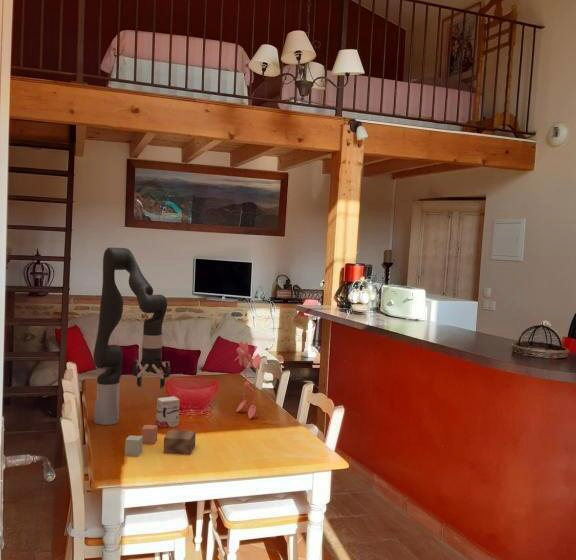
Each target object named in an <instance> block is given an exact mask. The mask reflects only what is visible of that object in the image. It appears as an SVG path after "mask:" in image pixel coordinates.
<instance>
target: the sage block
mask: <svg viewBox="0 0 576 560" xmlns="http://www.w3.org/2000/svg"><path fill="white" fill-rule="evenodd" d="M143 445H144V444H143V436H141V435H131V434H130V435H128V437H126V439H125V445H124V457H125V456H126V457H140V455H141V454H142V453H143Z"/></svg>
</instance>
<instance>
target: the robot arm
mask: <svg viewBox="0 0 576 560" xmlns="http://www.w3.org/2000/svg"><path fill="white" fill-rule="evenodd" d="M124 270H125V271H126V272H128V273H129V277H128V286H129V288H130V290H131V291H132V293H133V294H134V295H135V297H136V300H137V303H138V306H139V309H140V311H142V312H143V313H144V314H153V315H152V316H151V317H150V318H146V319H145V320H144V321H143V327H142V329H143V332H142V334H143V335H142V341H141V342H142V343H141V344H142V345H141V360H139V359H135V360H133V363H132V374H131V375H132V376H133V377H134V376H135V377H136V386H138V388H141V387H143V386H142V383H143V377H142V376H143V374H144V373H145V372H146V373H156V374H157V375H158V376H159V377H160V379H159V382H160V384H159V385H160V386H159V387H160V389H163V388H164V387H165V385H166V379H168V378H169V377H170V376H171V363H170V362H171V361H169V360H167V361H163V359H162V354H163V335H162V334H163V333H162V332H163V330H162V329H163V323H164V318H165V315H166V312H167V310H168V299H167V298H166V297H165V296H164V295H163V294H154V289H153V287H152V285H151V284H150V283H149V281H148V280H147V279H146V277H145V276H144V275H143V273H142V271H141V268H140V266H139V264H138V262H137V260H136V258H135V255H134V254H133V253H132V251H131V250H130V249H129V248H126V247H107V248H106V249H105V250H104V253H103V258H102V286H101V287H102V288H101V298H100V304H99V316H98V317H99V319H98V326H97V327H98V328H97V334H96V340H95V345H94V350H93V362H94V366H95V367H96V368H99V369H101V368H103V369H105V368H107V369H105V371H104V372H102V373H101V374H99V375H97V377H96V400H95V401H94V419H93V420H94V424H98V425H101V426H106V425H107V426H111V425H115V424H118V423H119V418H120V416H119V413H120V412H119V411H120V381H121V380H120V379H121V376H122V366H123V351H122V348H121V347H120V345H119V344H109V341H110V338H111V335H112V333H113V332H114V330H115V329H116V327H117V326H118V325H119V323H120V321H121V319H122V317H123V313H124V312H123V310H124V298H123V296H122V294H121V292H120V291H119V288H118V287H117V283H116V280H115V274H116V273H115V272H116V271H124ZM140 365H141V366H142V368H141V370H140V371H139V372H138V366H140ZM162 366H163V367H164V368H165V370H164V371H165V373H164V371H163V369H162Z"/></svg>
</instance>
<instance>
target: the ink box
mask: <svg viewBox="0 0 576 560" xmlns="http://www.w3.org/2000/svg"><path fill="white" fill-rule="evenodd" d="M179 418H180V398H178V397H177V396H174V395H173V396H166V397H158V398H157V399H156V418H155V425H158V427H157V428H160V429H165V428H174V427H178V426H179V422H180V421H179V420H180V419H179Z"/></svg>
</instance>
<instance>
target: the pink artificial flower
mask: <svg viewBox="0 0 576 560" xmlns="http://www.w3.org/2000/svg"><path fill="white" fill-rule="evenodd" d="M238 345H239V346H238V347H237V348H236V353H237V354H238V355H237V357H236V358H235V359H234V360H233V362H235V361H237V360H238V361H239V362H238V363H239V366H241V367H242V366H243V367H244V368H245V369H244V370H243V371H244V378H245V382H244V386H243V396H246V395H245V394H246V393H245V390H246V389H245V388H249V389H251V390H252V391H253V392H254V393H255V394H254V399H253V403H252V405H250V407H248V405H247V400H246V399H243V401H241V403H240V404H239V405H238V407H237V408H236V411H235V412H236V413H238V412H239V411H240V410H242V409H244V406H245V409H246V410H247V415H248V418H249V420H251V419H252V418H253V417H254V416H255V415H256V417H257V419H258V418H259V415H258V412H257V406H256V404H255V403H256V402H255V401H256V397H257V391H256V390H254V389H253V388H252V387H251V382H250V381H248V379H247V374H246V373H247V370H249V369H251V368H252V367H253V368H255V369H258V370H260V369H261V368H260V363H261V359H262V357H261V355H260V354H259V353H257V354H256V355H255V356H254V358H253V359H252V356H251V355H252V354H250V352H249V351H250V350H249V343H248V341H245V342H244V341H243V340H240V341H239V343H238ZM227 419H228V420H229V418H227V417H226V420H227ZM231 421H233V422H237V423H239V421H237V420H233V419H231Z"/></svg>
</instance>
